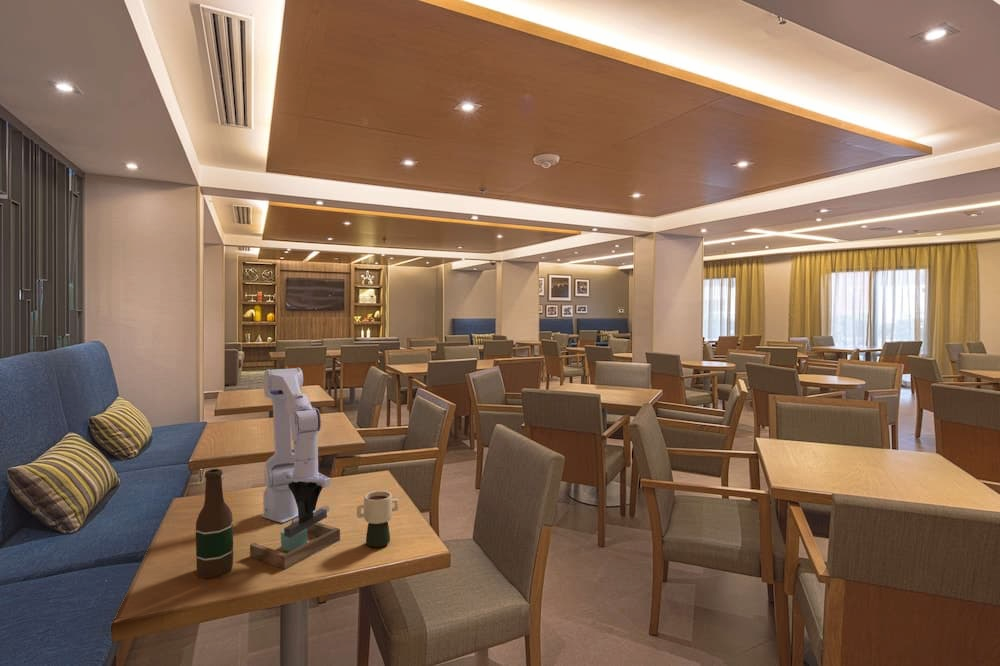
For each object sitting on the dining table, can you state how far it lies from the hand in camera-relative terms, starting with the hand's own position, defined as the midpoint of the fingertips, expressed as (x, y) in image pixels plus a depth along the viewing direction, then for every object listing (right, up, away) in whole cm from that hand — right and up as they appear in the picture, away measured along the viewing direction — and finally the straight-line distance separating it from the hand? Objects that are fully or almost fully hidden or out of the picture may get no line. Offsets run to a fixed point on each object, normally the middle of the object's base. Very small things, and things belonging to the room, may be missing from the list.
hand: (306, 510), depth 130 cm
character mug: (+17, -11, +4) cm, 21 cm away
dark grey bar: (0, -4, 0) cm, 4 cm away
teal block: (-4, -10, +2) cm, 11 cm away
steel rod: (-6, -10, +20) cm, 23 cm away
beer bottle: (-18, -11, -10) cm, 23 cm away
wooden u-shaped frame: (-3, -10, +2) cm, 11 cm away
